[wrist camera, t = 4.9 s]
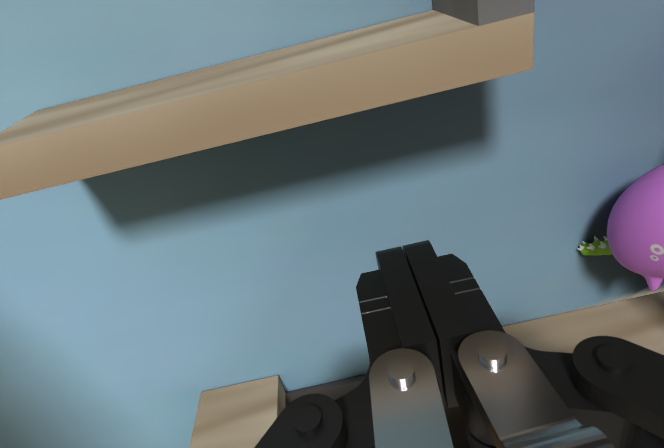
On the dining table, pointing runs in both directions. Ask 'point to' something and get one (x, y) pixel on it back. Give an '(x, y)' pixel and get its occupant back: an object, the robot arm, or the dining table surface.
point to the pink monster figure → (637, 229)
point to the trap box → (289, 112)
